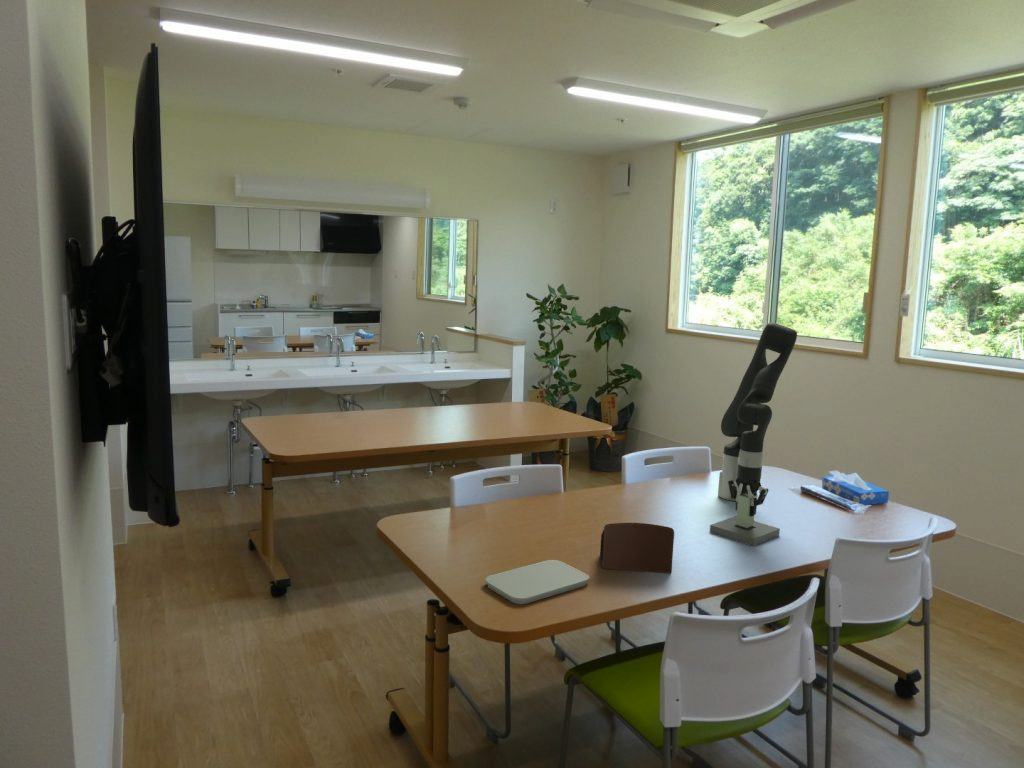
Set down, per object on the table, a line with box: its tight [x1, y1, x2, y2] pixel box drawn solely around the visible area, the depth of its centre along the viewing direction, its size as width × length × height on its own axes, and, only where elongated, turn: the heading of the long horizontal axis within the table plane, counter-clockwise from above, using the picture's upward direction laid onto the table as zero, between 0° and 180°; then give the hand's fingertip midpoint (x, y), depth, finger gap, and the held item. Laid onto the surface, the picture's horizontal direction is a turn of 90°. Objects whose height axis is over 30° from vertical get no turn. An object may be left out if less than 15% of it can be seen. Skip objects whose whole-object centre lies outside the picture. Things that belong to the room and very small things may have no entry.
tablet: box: [484, 559, 590, 605], centre depth 200 cm, size 16×26×2 cm, turn 128°
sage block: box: [735, 494, 755, 528], centre depth 245 cm, size 4×4×10 cm
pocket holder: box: [709, 515, 781, 547], centre depth 246 cm, size 16×16×2 cm
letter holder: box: [599, 522, 675, 574], centre depth 215 cm, size 10×20×14 cm, turn 86°
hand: (745, 513), depth 245 cm, fingers closed on sage block, 4 cm apart
